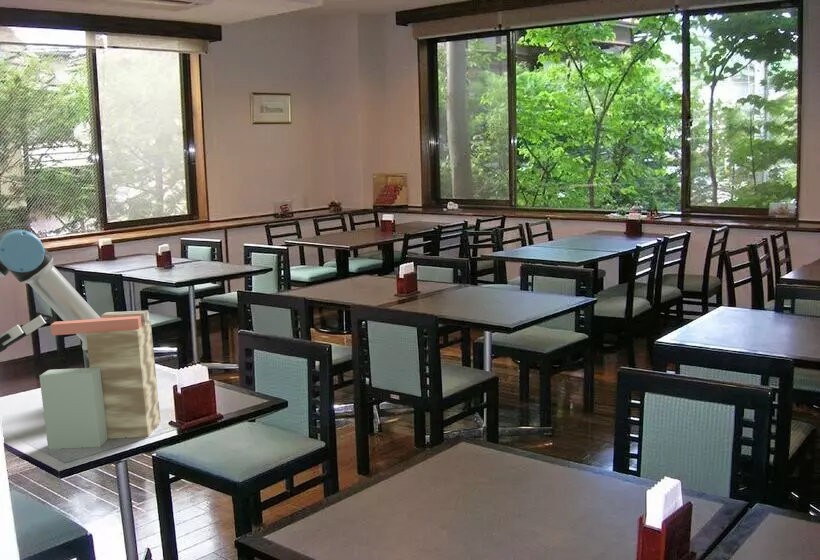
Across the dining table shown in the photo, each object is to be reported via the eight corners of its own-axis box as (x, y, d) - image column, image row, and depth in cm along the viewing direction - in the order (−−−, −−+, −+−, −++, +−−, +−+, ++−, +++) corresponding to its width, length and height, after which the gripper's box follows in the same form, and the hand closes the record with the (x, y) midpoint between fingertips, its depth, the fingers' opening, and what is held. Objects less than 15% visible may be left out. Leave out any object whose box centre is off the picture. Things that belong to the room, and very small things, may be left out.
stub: (56, 332, 233) (54, 321, 232) (141, 326, 235) (140, 315, 235) (51, 335, 229) (50, 324, 228) (139, 329, 231) (137, 318, 231)
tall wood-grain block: (112, 424, 246) (100, 312, 241) (160, 422, 246) (149, 309, 241) (97, 439, 234) (84, 320, 229) (148, 436, 234) (135, 318, 229)
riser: (57, 441, 234) (48, 369, 230) (107, 439, 234) (99, 367, 230) (48, 449, 228) (39, 375, 224) (100, 446, 228) (91, 373, 224)
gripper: (0, 363, 250) (58, 326, 248) (-46, 386, 225) (18, 344, 223) (-15, 342, 249) (44, 304, 247) (-63, 362, 224) (2, 321, 222)
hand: (32, 323), depth 235 cm, fingers open, 13 cm apart
